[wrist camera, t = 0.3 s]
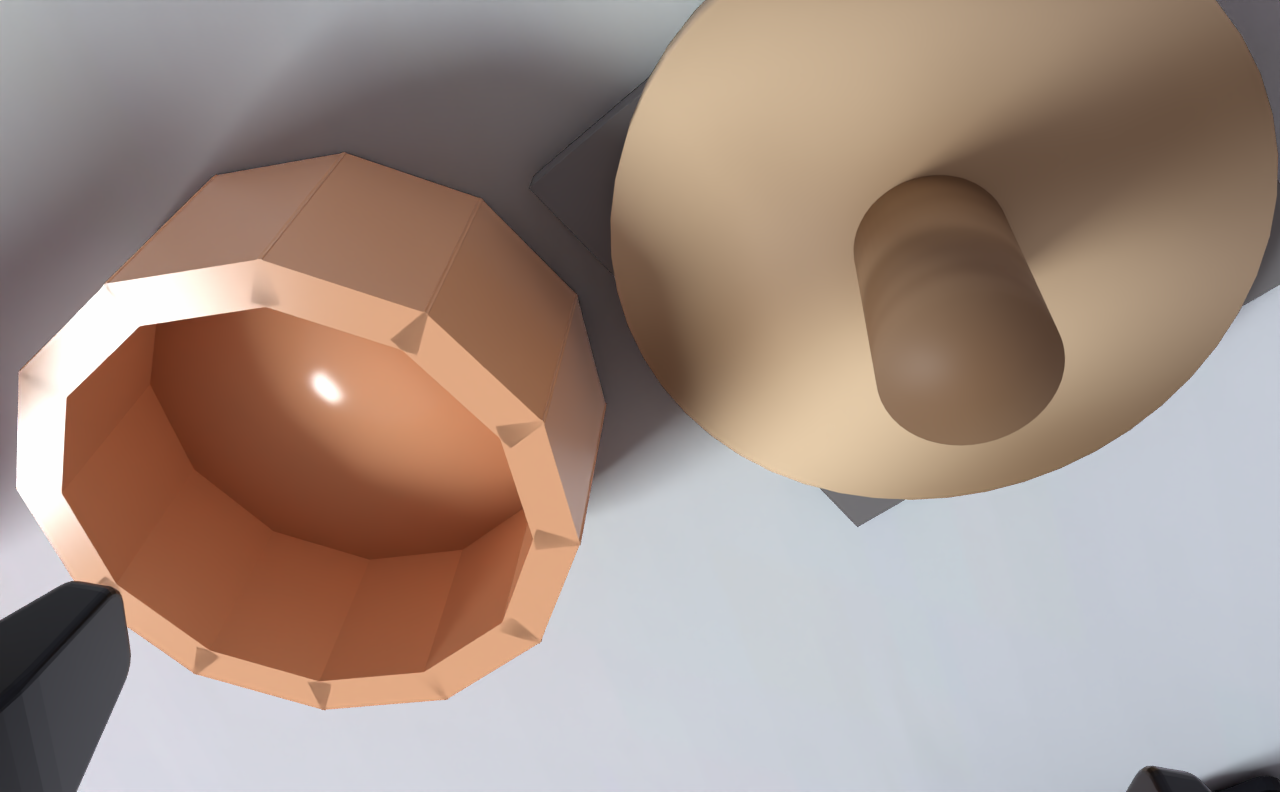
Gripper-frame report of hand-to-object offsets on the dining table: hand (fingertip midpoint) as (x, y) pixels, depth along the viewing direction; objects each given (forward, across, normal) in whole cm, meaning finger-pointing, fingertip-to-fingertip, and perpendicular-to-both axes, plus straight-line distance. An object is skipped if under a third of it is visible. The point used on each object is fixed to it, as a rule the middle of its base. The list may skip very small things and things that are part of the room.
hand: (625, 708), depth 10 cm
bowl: (+13, +6, +6) cm, 15 cm away
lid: (+12, -4, 0) cm, 13 cm away
